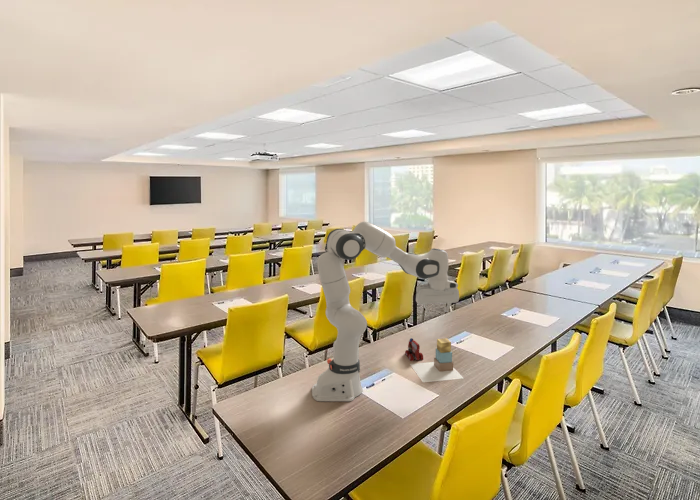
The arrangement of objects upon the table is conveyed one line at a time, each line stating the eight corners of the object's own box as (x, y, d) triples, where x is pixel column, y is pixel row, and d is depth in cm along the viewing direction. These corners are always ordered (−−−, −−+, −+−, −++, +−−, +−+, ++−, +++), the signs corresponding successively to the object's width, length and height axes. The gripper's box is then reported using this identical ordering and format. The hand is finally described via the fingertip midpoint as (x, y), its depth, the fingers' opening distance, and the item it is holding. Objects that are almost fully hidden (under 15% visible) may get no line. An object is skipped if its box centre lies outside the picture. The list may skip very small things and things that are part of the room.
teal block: (440, 363, 186) (440, 353, 185) (435, 357, 192) (435, 348, 191) (452, 362, 187) (452, 352, 186) (446, 356, 193) (447, 347, 192)
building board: (422, 384, 176) (423, 374, 175) (409, 366, 194) (409, 356, 194) (464, 380, 179) (464, 370, 178) (447, 362, 198) (447, 353, 197)
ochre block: (440, 352, 186) (441, 343, 185) (436, 348, 191) (437, 339, 190) (450, 352, 187) (451, 342, 186) (446, 347, 191) (446, 338, 191)
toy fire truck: (415, 353, 210) (415, 335, 208) (424, 363, 198) (425, 344, 196) (403, 354, 208) (403, 336, 207) (411, 364, 196) (412, 345, 195)
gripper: (418, 285, 174) (417, 315, 176) (461, 284, 177) (460, 313, 179) (414, 282, 180) (413, 311, 182) (455, 280, 183) (454, 309, 186)
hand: (436, 312), depth 181 cm, fingers open, 8 cm apart
